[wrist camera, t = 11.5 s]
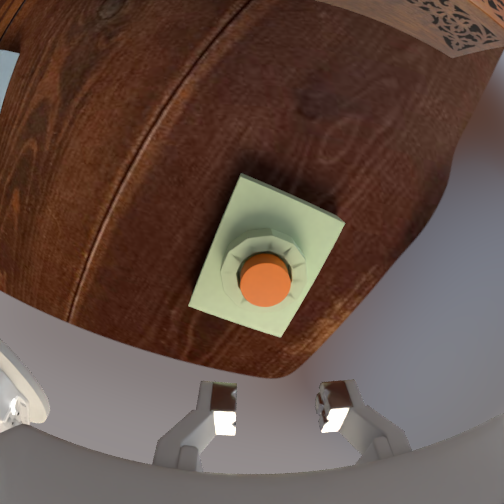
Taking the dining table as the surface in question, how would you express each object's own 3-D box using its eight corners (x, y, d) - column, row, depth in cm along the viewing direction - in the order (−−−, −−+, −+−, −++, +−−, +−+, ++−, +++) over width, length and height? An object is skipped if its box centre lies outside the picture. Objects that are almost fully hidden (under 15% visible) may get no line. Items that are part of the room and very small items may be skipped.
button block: (278, 324, 28) (282, 350, 24) (192, 293, 27) (184, 317, 23) (337, 216, 24) (353, 229, 20) (240, 172, 22) (239, 179, 19)
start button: (275, 301, 23) (277, 313, 21) (233, 286, 22) (232, 297, 21) (295, 263, 22) (299, 273, 20) (251, 245, 21) (252, 255, 19)
